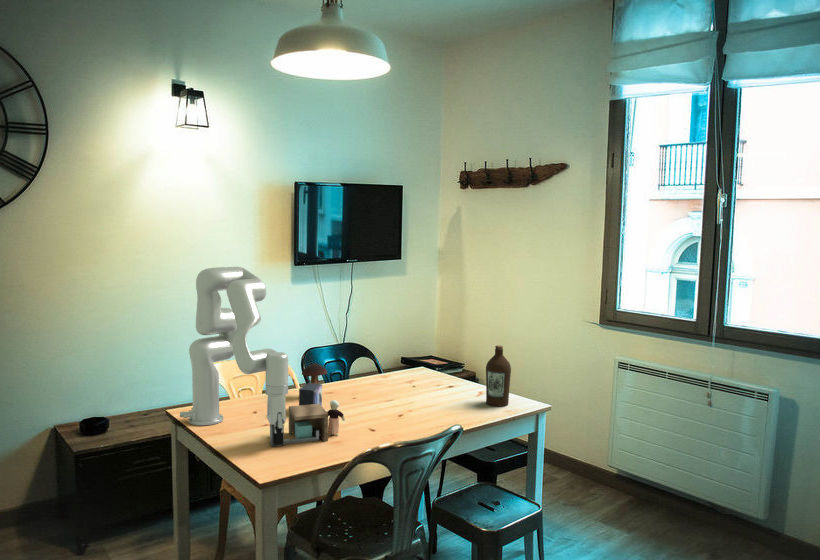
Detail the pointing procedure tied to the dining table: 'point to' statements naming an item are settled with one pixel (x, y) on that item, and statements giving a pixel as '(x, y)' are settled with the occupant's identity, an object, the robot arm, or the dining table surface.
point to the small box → (310, 394)
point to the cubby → (309, 418)
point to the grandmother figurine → (334, 418)
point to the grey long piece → (295, 440)
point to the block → (303, 429)
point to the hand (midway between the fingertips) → (277, 441)
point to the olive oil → (498, 379)
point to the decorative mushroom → (314, 372)
